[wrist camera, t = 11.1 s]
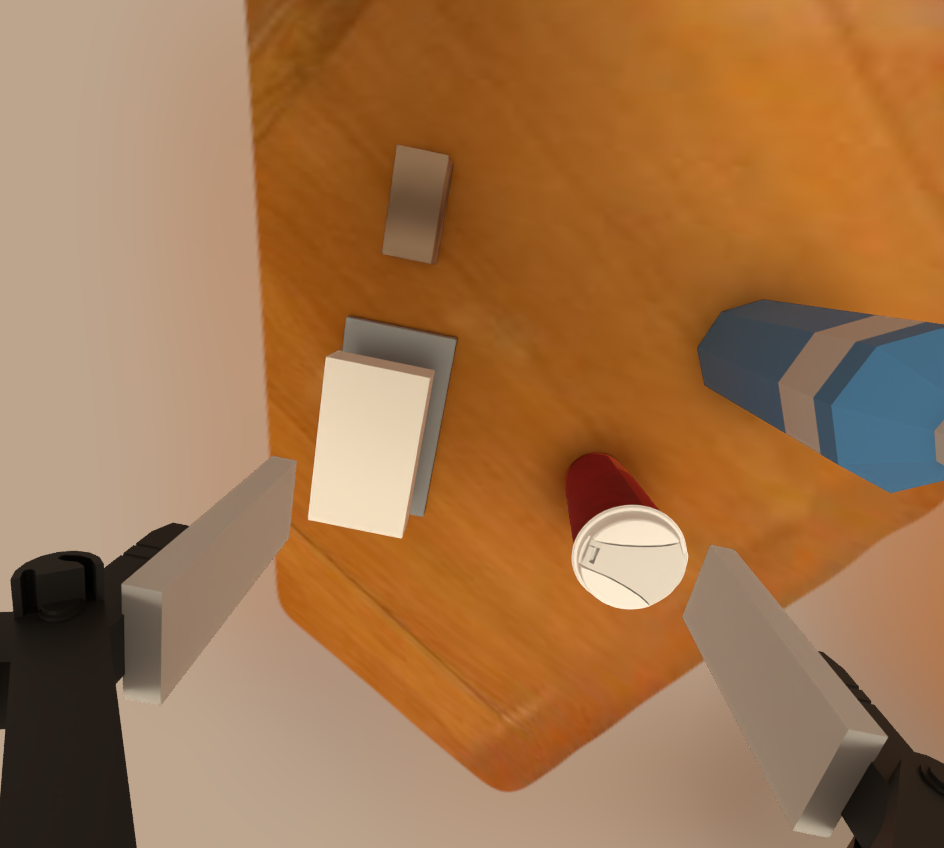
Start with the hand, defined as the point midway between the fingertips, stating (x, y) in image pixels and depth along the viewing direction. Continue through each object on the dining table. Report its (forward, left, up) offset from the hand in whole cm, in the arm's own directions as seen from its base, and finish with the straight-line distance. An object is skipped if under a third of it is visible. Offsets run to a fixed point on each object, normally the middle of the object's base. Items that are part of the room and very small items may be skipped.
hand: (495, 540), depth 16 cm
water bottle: (-5, +22, -33) cm, 40 cm away
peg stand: (+8, -9, -33) cm, 35 cm away
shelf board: (+8, -9, -26) cm, 29 cm away
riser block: (-11, -9, -33) cm, 36 cm away
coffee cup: (+10, +12, -33) cm, 36 cm away
